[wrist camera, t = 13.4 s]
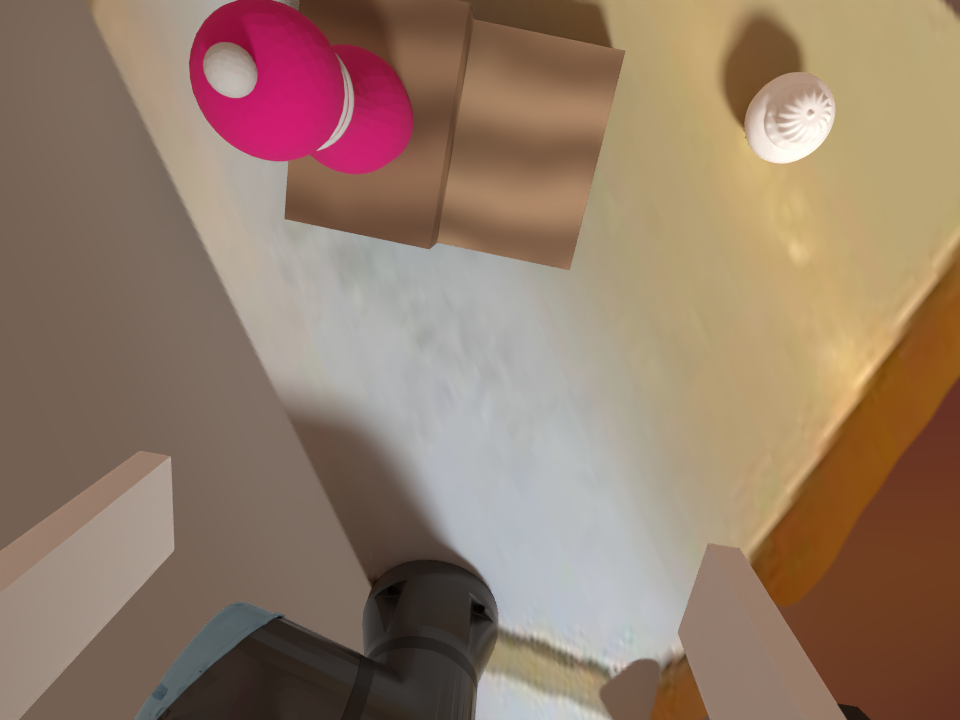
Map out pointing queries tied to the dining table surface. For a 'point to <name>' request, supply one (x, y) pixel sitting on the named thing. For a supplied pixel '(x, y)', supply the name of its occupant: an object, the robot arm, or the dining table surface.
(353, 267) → the dining table surface
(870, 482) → the dining table surface
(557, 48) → the step stand
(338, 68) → the pepper mill
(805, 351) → the dining table surface
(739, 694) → the robot arm
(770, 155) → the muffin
